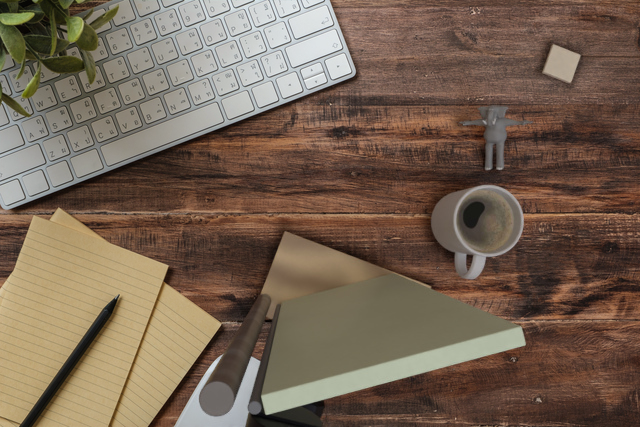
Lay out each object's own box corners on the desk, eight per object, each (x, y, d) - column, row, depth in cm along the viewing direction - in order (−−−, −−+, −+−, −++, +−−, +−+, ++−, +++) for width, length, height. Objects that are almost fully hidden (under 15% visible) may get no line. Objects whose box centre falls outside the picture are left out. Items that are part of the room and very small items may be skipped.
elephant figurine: (452, 172, 69) (451, 108, 66) (467, 162, 73) (467, 102, 70) (525, 176, 63) (527, 107, 60) (537, 165, 67) (539, 100, 65)
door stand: (400, 365, 67) (552, 559, 27) (252, 310, 67) (186, 427, 27) (429, 285, 68) (618, 360, 28) (283, 230, 67) (263, 226, 27)
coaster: (569, 83, 70) (571, 82, 70) (541, 73, 70) (543, 71, 69) (578, 56, 70) (581, 54, 70) (551, 45, 70) (553, 43, 70)
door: (397, 289, 66) (532, 365, 29) (279, 320, 66) (255, 440, 28) (393, 272, 67) (521, 325, 29) (275, 303, 66) (245, 399, 28)
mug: (461, 178, 69) (488, 169, 59) (507, 226, 69) (542, 225, 59) (408, 231, 68) (427, 231, 58) (454, 279, 68) (481, 287, 58)
